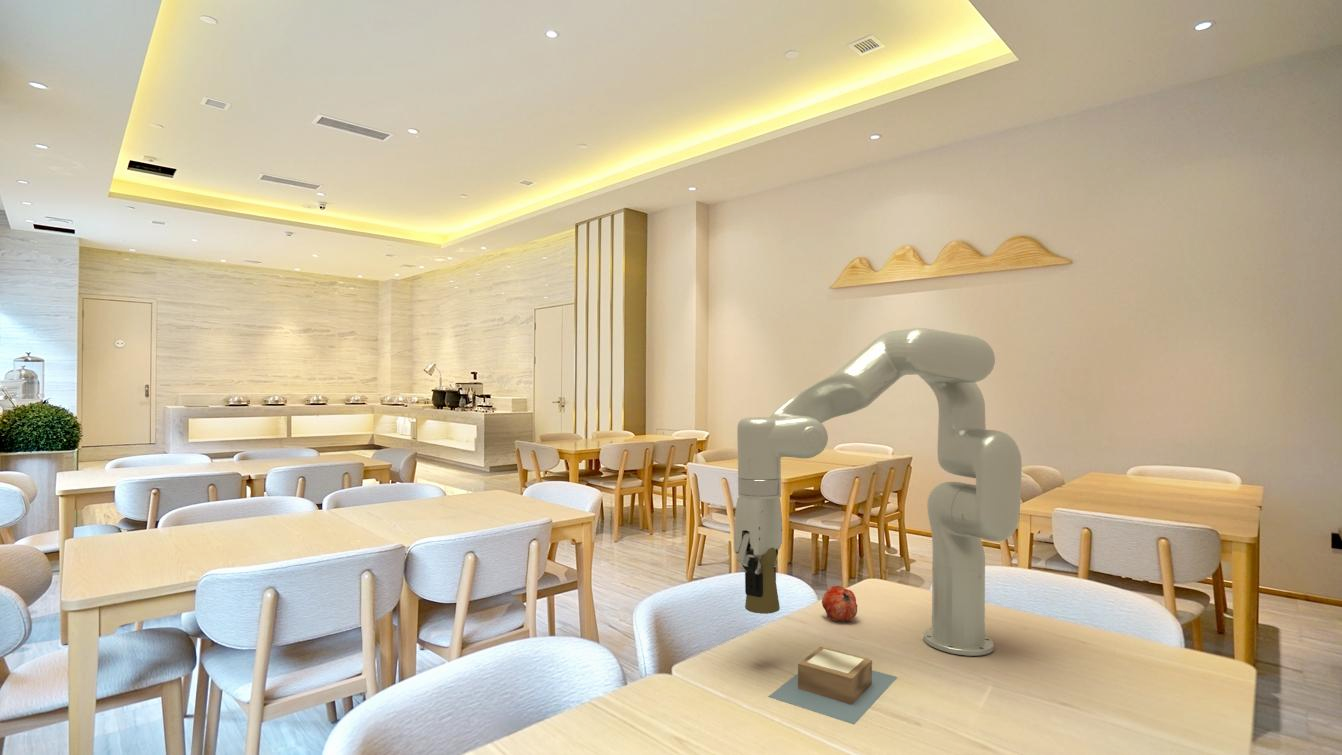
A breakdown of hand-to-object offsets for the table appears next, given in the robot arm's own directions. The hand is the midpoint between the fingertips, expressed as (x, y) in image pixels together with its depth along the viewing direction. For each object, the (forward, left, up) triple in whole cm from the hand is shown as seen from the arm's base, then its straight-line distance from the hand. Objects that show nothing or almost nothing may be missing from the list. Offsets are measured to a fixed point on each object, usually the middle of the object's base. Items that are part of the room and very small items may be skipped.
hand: (760, 590), depth 115 cm
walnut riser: (0, +14, -13) cm, 19 cm away
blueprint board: (0, +14, -14) cm, 20 cm away
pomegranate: (-34, +1, -14) cm, 37 cm away
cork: (0, 0, -3) cm, 3 cm away
